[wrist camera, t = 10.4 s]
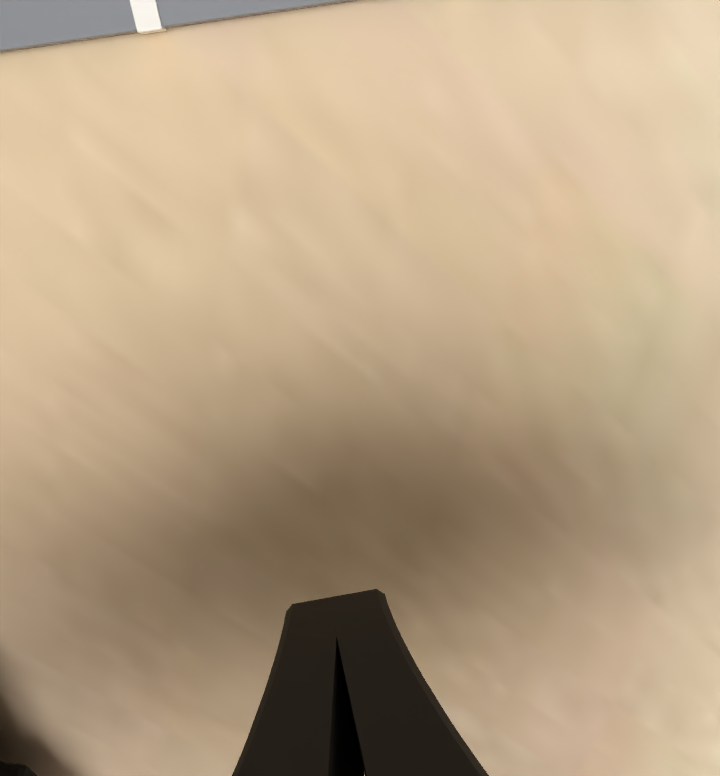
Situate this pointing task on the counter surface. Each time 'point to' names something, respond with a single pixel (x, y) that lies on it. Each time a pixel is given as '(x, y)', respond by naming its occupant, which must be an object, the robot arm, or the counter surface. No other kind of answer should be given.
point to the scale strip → (120, 17)
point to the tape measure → (15, 770)
